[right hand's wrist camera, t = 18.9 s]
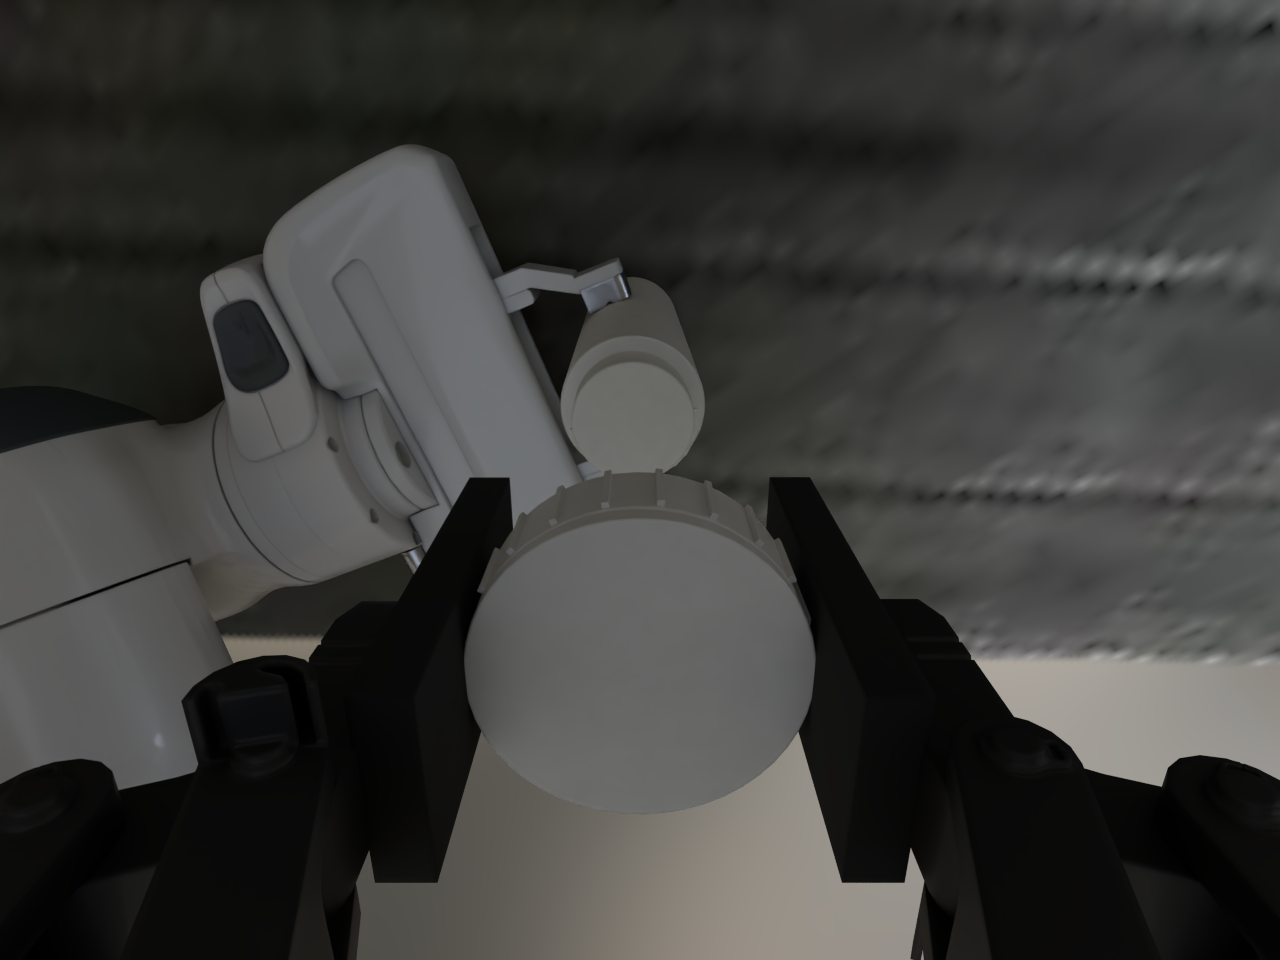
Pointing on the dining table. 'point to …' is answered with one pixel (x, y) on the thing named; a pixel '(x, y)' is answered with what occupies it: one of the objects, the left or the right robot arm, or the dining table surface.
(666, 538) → the lid
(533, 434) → the left robot arm
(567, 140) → the dining table surface
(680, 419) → the jar
